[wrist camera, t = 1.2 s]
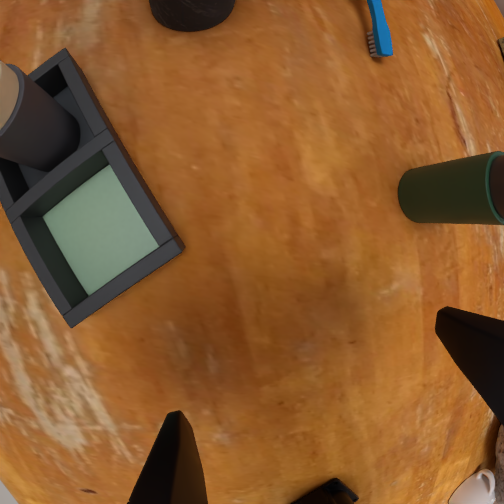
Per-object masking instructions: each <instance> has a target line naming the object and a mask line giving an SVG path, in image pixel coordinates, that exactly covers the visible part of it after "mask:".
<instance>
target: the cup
mask: <svg viewBox="0 0 504 504" xmlns="http://www.w3.org/2000/svg"><path fill="white" fill-rule="evenodd" d="M483 474H485V475H486V476H487V477H488V478H487V477H486V476H484V475H483ZM494 489H495V478H494V475H493V473H492V472H491V471H490V470H488V469H482V470H480V471H479V472H477V473H475V474H473V475H471V476H470V477H469V478H467V479H466V480H465V481H464V482H463V483H462V484H461V485H460V486H459V487H458V488H457V489H456V490H455V492H454V493H453V494H452V496H451V498H450V500H449V504H493V503H494V501H495V491H494Z"/></svg>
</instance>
